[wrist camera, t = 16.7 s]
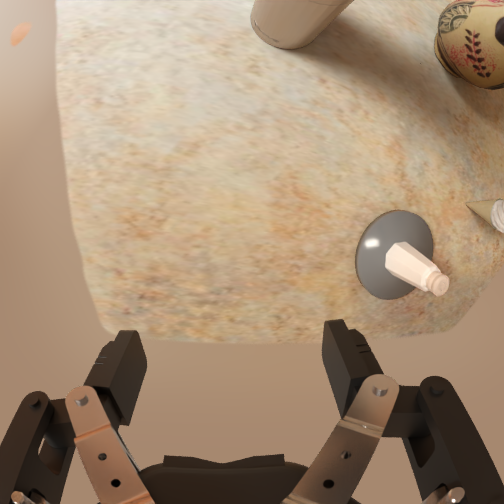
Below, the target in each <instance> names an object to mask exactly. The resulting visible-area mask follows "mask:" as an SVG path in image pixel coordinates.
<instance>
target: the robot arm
mask: <svg viewBox="0 0 504 504" xmlns="http://www.w3.org/2000/svg"><path fill="white" fill-rule="evenodd" d="M353 1H354V0H255V2H254V5H253V9H252V12H251V24H252V27H253V29H254V31H255V32H256V34H257V35H258V36H259V37H260V38H261V39H262V40H264V41H265V42H267V43H268V44H270V45H272V46H275V47H278V48H283V49H297V48H301V47H303V46H306V45H308V44H309V43H310V42H311V41H313V40H314V39H315V38H316V37H317V36H318V34H319V33H320V32H322V31H323V30H324V29H325V28H326V27H327V26H328V25H329V24H330V23H331V22H332V21H333V20H334V19H335V18H336V17H337V16H338V15H339V14H340V13H341V12H342V11H343V10H344V9H345V8H346V7H347V6H348V5H349V4H351V3H352V2H353ZM322 358H323V363H324V366H325V369H326V372H327V375H328V378H329V382H330V385H331V388H332V391H333V394H334V397H335V400H336V403H337V406H338V410H339V413H340V416H341V419H340V421H339V422H338V423H337V425H336V427H335V428H334V430H333V432H332V433H331V435H330V437H329V438H328V440H327V442H326V443H325V445H324V446H323V448H322V449H321V451H320V452H319V454H318V455H317V457H316V458H315V460H314V461H313V463H312V464H311V466H310V467H309V468H308V467H306V466H304V465H300V464H297V463H292V462H285V461H284V454H278V455H266V456H253V457H249V458H245V459H242V460H237V461H233V462H228V463H216V462H212V461H207V460H202V459H199V458H194V457H182V456H166V455H165V456H164V461H163V463H160V464H156V465H152V466H150V467H147V468H145V469H143V470H140V468H139V467H138V465H137V463H136V462H135V460H134V459H133V457H132V455H131V454H130V452H129V450H128V448H127V446H126V445H125V443H124V441H123V439H122V437H121V435H120V434H119V432H118V428H119V425H127V426H129V424H130V421H131V417H132V414H133V411H134V408H135V404H136V401H137V398H138V395H139V392H140V389H141V385H142V382H143V379H144V376H145V373H146V369H147V359H146V355H145V352H144V350H143V346H142V343H141V340H140V336H139V333H138V332H137V331H136V330H121V331H119V333H118V335H117V337H116V338H115V341H110V342H109V343H108V344H107V345H105V346H104V347H103V348H102V350H101V352H100V354H99V356H98V358H97V359H96V361H95V364H94V365H93V367H92V369H91V371H90V373H89V375H88V377H87V379H86V381H85V383H84V385H83V386H79V387H76V388H74V389H72V390H71V391H70V392H69V393H68V394H67V396H66V398H65V399H56V400H50V399H49V398H48V396H47V395H46V394H45V393H44V392H41V391H35V392H32V393H30V394H28V395H27V396H26V397H25V398H24V399H23V401H22V402H21V404H20V406H19V408H18V410H17V412H16V414H15V416H14V418H13V420H12V422H11V424H10V426H9V428H8V430H7V433H6V435H5V437H4V439H3V441H2V443H1V445H0V504H60V501H61V497H62V493H63V489H64V485H65V482H66V478H67V474H68V471H69V468H70V464H71V461H72V457H73V454H74V451H75V448H76V447H77V450H78V453H79V455H80V457H81V460H82V463H83V465H84V468H85V470H86V472H87V475H88V477H89V479H90V481H91V484H92V486H93V488H94V490H95V492H96V495H97V497H98V499H99V501H100V502H99V503H98V504H361V503H359V502H357V501H356V500H355V499H353V498H352V497H351V496H352V494H353V492H354V490H355V489H356V487H357V485H358V483H359V481H360V479H361V477H362V475H363V474H364V471H365V470H366V468H367V466H368V464H369V462H370V460H371V457H372V455H373V453H374V451H375V449H376V447H377V445H378V442H379V440H380V438H381V437H401V438H402V440H403V443H404V446H405V449H406V452H407V454H408V458H409V461H410V463H411V467H412V469H413V473H414V476H415V479H416V482H417V485H418V488H419V491H420V495H421V498H422V501H423V502H422V503H421V504H504V485H503V483H502V481H501V478H500V476H499V474H498V472H497V470H496V467H495V465H494V463H493V461H492V459H491V457H490V455H489V453H488V451H487V449H486V447H485V445H484V443H483V441H482V439H481V437H480V435H479V433H478V431H477V429H476V427H475V425H474V423H473V422H472V420H471V418H470V416H469V414H468V412H467V411H466V409H465V407H464V405H463V403H462V402H461V400H460V398H459V396H458V395H457V393H456V392H455V390H454V388H453V386H452V385H451V383H450V382H449V381H448V380H446V379H445V378H442V377H439V376H430V377H427V378H425V379H424V380H423V381H422V382H421V384H420V386H401V385H398V383H397V382H396V380H394V379H393V378H392V377H390V376H387V375H384V373H383V371H382V369H381V368H380V366H379V364H378V362H377V360H376V358H375V356H374V354H373V353H372V352H371V348H370V347H369V345H368V343H367V341H366V339H365V337H364V336H363V335H362V334H361V333H360V332H358V331H357V330H356V329H351V330H348V328H347V326H346V324H345V322H344V320H343V319H338V320H329V321H325V323H324V332H323V343H322ZM43 438H44V439H45V440H44V443H43V446H42V448H41V451H40V453H39V455H38V449H39V447H40V444H41V441H42V439H43Z"/></svg>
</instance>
